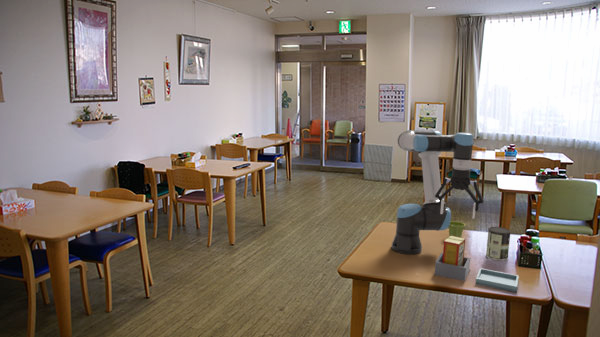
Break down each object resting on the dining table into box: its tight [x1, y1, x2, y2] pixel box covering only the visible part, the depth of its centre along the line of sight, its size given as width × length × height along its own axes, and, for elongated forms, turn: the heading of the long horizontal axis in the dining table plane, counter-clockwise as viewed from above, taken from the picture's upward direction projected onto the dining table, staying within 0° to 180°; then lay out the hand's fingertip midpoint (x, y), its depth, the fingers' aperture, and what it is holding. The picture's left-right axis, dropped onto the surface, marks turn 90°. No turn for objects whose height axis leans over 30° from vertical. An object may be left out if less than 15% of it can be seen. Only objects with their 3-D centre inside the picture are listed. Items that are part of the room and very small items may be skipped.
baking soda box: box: [442, 236, 466, 267], centre depth 206 cm, size 10×6×16 cm
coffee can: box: [485, 226, 511, 262], centre depth 227 cm, size 10×10×14 cm
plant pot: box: [448, 220, 466, 238], centre depth 253 cm, size 9×9×9 cm
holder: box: [433, 252, 471, 282], centre depth 207 cm, size 13×14×6 cm
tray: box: [475, 267, 520, 293], centre depth 198 cm, size 16×13×2 cm
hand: (457, 215), depth 203 cm, fingers open, 13 cm apart
